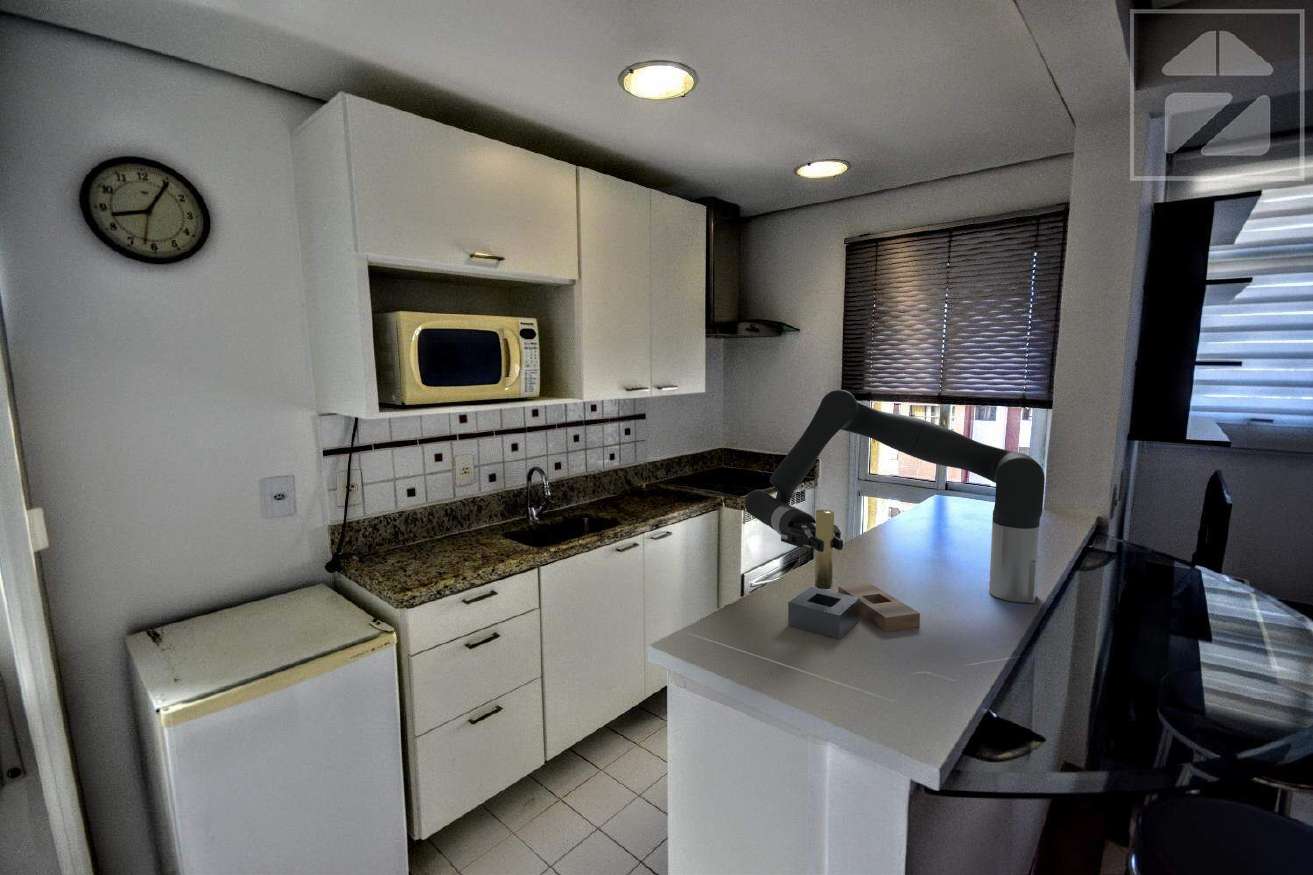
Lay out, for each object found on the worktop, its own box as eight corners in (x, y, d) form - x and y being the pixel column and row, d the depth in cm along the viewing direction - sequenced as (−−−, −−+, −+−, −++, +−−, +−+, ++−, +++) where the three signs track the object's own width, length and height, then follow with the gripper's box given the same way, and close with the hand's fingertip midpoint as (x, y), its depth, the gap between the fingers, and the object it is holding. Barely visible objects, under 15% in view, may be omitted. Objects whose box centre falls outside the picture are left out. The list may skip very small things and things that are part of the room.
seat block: (859, 620, 122) (859, 597, 121) (839, 639, 114) (839, 615, 113) (810, 607, 129) (810, 586, 128) (788, 625, 120) (788, 602, 120)
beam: (838, 598, 134) (838, 585, 134) (868, 594, 136) (868, 582, 135) (885, 631, 117) (885, 617, 116) (919, 626, 118) (920, 613, 118)
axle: (834, 585, 121) (836, 511, 119) (828, 590, 118) (829, 514, 116) (818, 581, 123) (820, 508, 121) (811, 586, 120) (813, 512, 118)
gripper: (764, 510, 131) (800, 531, 114) (821, 506, 134) (863, 525, 118) (764, 542, 132) (799, 567, 115) (820, 537, 135) (862, 560, 119)
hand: (831, 546), depth 117 cm, fingers closed on axle, 3 cm apart
